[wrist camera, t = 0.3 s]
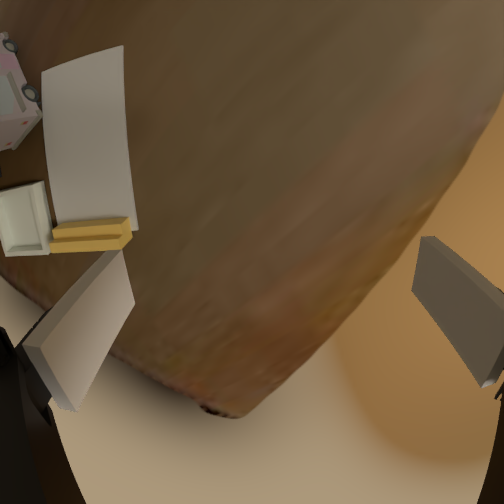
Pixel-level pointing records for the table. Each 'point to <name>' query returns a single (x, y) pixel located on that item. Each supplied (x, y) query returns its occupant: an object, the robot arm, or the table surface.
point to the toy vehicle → (15, 98)
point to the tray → (25, 220)
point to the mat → (88, 139)
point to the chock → (91, 235)
